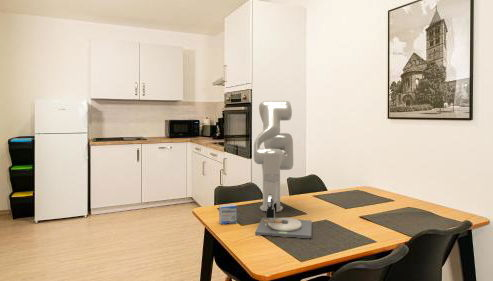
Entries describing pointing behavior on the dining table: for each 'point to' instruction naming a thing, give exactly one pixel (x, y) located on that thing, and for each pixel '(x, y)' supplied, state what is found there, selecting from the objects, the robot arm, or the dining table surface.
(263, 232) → the dial board
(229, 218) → the medicine box
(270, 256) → the dining table surface
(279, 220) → the dial
